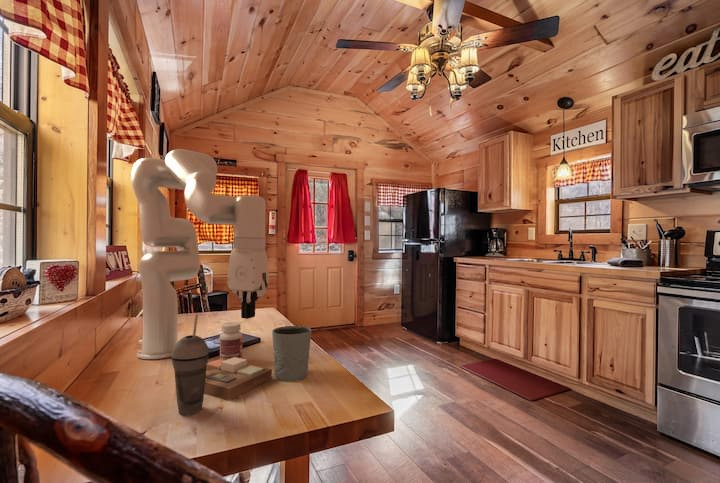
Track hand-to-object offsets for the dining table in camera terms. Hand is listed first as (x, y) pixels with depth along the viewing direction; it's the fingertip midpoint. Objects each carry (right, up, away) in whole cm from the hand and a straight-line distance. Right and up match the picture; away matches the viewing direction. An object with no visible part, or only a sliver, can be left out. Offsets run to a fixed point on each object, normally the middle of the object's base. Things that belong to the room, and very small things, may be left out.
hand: (248, 317), depth 95 cm
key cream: (-4, -13, +1) cm, 14 cm away
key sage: (+1, -15, -1) cm, 15 cm away
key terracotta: (-9, -15, +4) cm, 18 cm away
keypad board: (-5, -16, -1) cm, 17 cm away
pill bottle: (-9, -16, +13) cm, 22 cm away
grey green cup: (+10, -16, +4) cm, 20 cm away
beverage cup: (-7, -16, -17) cm, 24 cm away
